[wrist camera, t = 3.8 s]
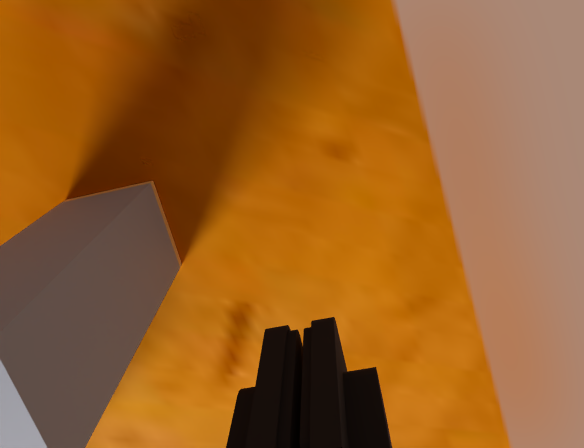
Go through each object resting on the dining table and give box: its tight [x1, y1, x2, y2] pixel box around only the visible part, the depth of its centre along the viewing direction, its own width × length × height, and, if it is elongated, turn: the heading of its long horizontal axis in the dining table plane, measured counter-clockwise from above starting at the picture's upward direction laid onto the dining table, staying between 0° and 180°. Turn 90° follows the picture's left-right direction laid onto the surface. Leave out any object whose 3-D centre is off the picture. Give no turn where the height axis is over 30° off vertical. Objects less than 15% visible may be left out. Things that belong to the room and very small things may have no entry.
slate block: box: [0, 181, 182, 448], centre depth 19 cm, size 4×4×13 cm
